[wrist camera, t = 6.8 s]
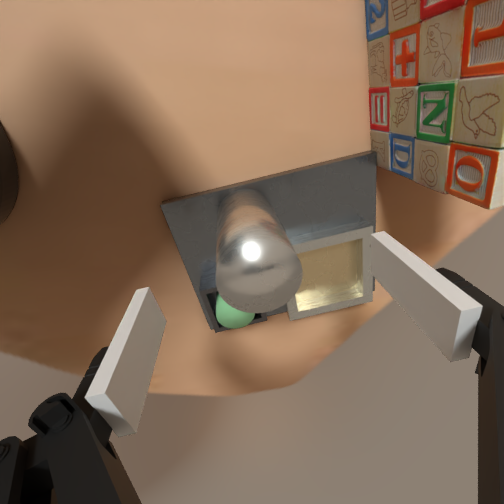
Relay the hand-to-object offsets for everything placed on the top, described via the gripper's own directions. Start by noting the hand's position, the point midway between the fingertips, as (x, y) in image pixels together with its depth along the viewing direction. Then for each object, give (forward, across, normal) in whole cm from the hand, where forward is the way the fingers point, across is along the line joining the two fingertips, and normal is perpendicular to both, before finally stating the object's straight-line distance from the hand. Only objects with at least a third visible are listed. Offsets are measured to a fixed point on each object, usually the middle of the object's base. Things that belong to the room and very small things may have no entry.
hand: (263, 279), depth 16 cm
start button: (+9, -3, -7) cm, 12 cm away
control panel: (+11, +2, -4) cm, 12 cm away
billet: (+10, 0, 0) cm, 10 cm away
